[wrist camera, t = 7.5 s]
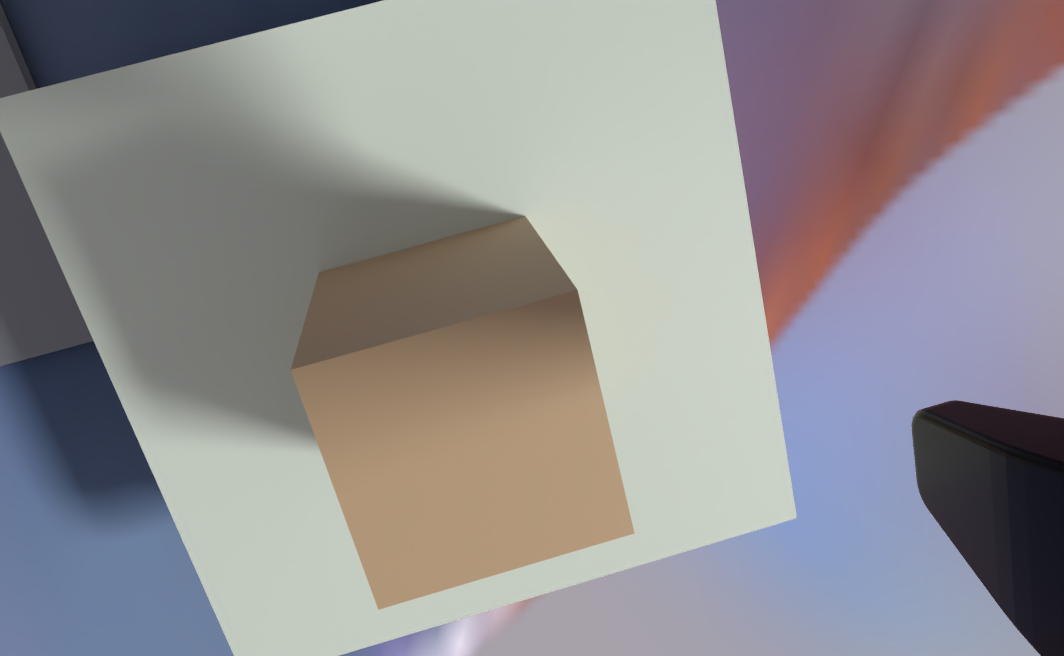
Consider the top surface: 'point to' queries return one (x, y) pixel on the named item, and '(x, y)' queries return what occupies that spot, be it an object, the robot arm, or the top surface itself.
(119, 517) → the top surface
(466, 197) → the lid
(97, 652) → the top surface
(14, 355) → the mat
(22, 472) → the top surface
